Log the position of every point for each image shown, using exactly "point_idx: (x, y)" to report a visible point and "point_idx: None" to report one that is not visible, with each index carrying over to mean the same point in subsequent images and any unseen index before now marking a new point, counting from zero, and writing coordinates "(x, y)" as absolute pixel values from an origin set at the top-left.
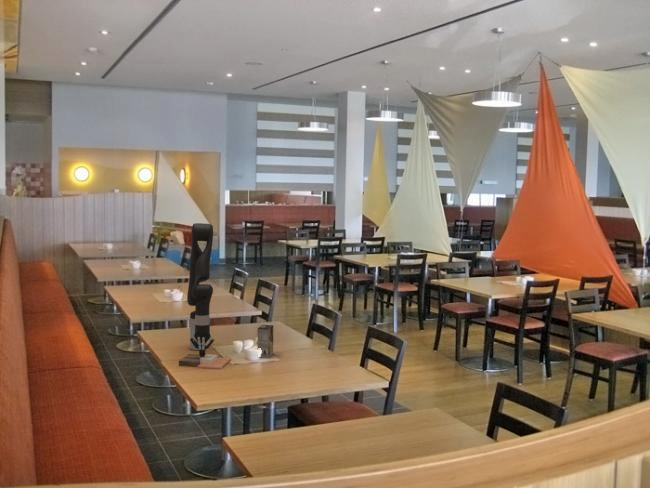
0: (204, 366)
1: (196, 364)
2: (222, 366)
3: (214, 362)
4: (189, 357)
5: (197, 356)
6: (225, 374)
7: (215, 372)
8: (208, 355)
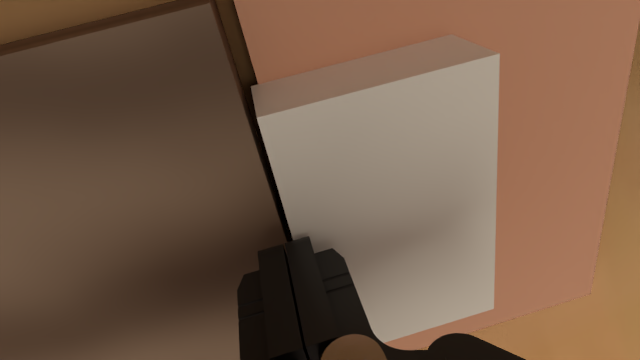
0: (418, 347)
1: None
2: (594, 246)
3: None
4: (46, 300)
5: (118, 191)
6: (634, 349)
7: (546, 354)
8: (355, 162)
